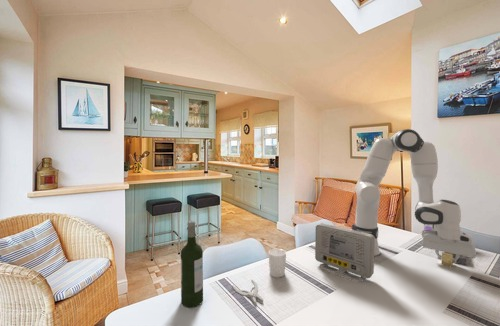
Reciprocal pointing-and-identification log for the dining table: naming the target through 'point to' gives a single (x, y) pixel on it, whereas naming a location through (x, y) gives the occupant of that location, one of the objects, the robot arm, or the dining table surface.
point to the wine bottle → (191, 270)
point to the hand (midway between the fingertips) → (446, 260)
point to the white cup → (277, 262)
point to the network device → (345, 251)
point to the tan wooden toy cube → (447, 259)
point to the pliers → (248, 294)
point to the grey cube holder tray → (460, 259)
